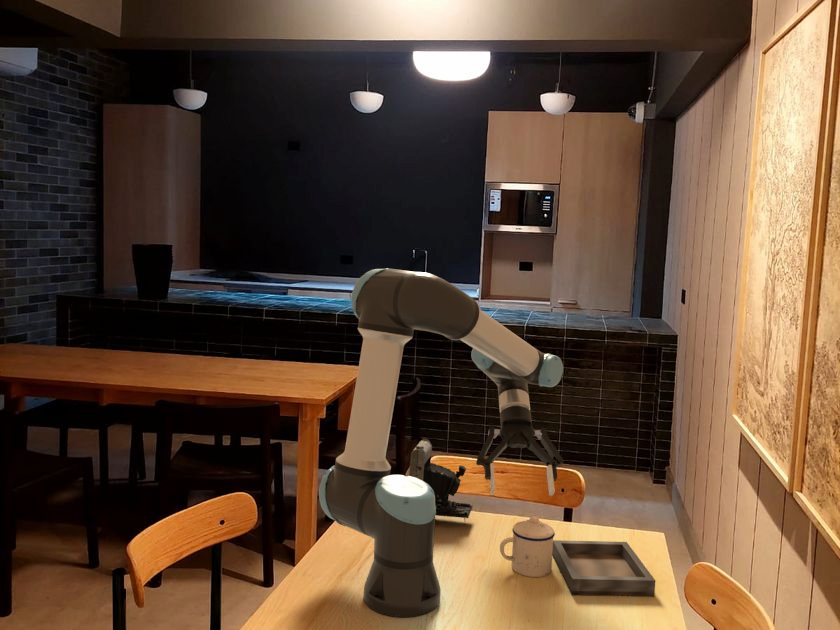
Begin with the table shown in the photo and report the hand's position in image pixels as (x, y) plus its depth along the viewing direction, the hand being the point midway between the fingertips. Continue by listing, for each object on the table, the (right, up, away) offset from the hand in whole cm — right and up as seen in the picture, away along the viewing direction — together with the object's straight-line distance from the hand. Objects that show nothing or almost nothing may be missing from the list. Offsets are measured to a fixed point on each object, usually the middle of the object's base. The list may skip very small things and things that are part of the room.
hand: (522, 493), depth 172 cm
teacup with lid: (-1, -15, -8) cm, 17 cm away
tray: (+15, -16, -9) cm, 24 cm away
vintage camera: (-19, -11, +17) cm, 28 cm away
